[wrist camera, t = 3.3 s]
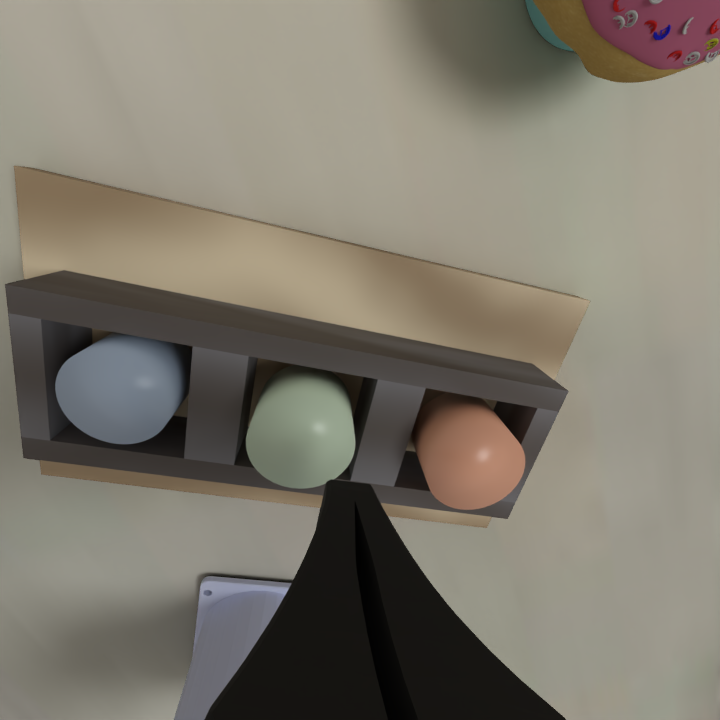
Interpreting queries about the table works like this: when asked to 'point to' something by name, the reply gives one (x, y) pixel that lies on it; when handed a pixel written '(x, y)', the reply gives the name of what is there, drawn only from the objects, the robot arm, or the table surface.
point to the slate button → (124, 387)
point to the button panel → (268, 341)
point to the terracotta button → (466, 452)
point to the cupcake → (631, 34)
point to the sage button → (302, 428)
